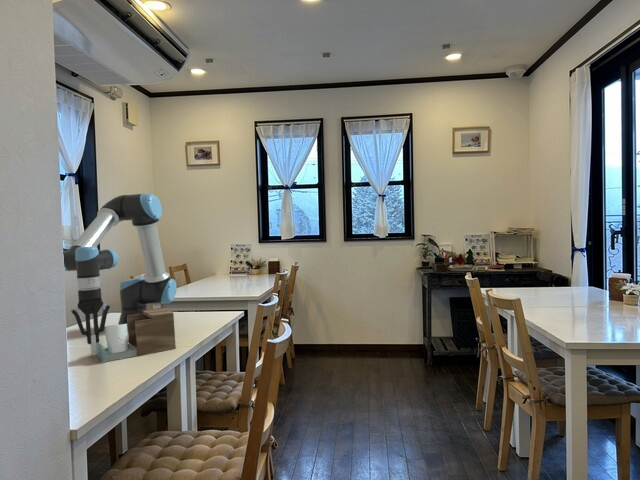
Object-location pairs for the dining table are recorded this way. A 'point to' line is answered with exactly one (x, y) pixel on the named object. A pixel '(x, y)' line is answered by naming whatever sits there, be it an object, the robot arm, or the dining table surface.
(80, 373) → the dining table surface
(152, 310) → the wooden drawer box
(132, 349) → the teal drawer
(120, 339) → the white cup
